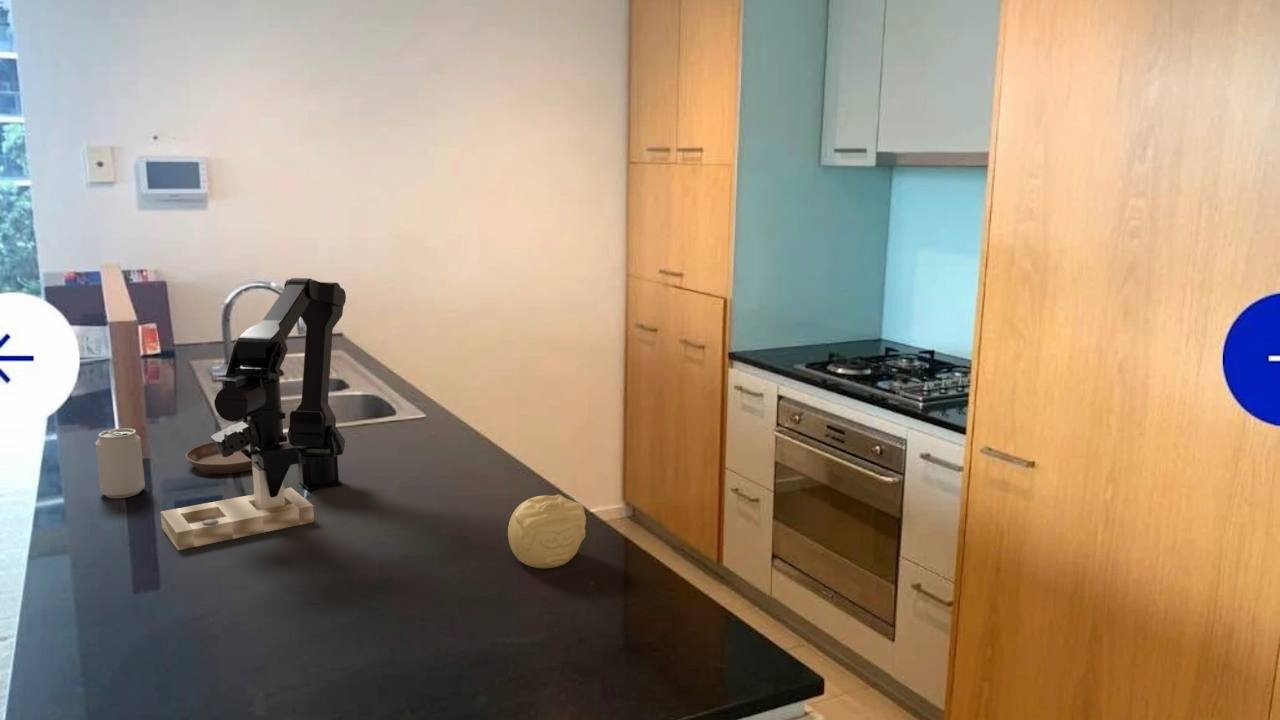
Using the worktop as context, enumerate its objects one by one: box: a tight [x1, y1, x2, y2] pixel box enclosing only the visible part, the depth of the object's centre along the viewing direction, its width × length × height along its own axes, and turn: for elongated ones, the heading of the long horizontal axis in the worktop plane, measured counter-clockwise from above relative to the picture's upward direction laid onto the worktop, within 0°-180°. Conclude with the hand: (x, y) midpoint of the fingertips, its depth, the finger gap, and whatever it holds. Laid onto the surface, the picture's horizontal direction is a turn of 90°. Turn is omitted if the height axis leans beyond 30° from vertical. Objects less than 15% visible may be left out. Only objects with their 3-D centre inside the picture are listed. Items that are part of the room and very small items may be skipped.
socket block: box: [160, 487, 315, 551], centre depth 170 cm, size 22×12×3 cm, turn 127°
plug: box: [251, 454, 285, 510], centre depth 172 cm, size 4×4×10 cm
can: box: [94, 428, 146, 499], centre depth 185 cm, size 8×8×12 cm
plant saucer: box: [185, 441, 253, 474], centre depth 205 cm, size 18×18×3 cm
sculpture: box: [507, 493, 587, 569], centre depth 155 cm, size 12×12×11 cm
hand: (269, 493), depth 173 cm, fingers closed on plug, 4 cm apart
